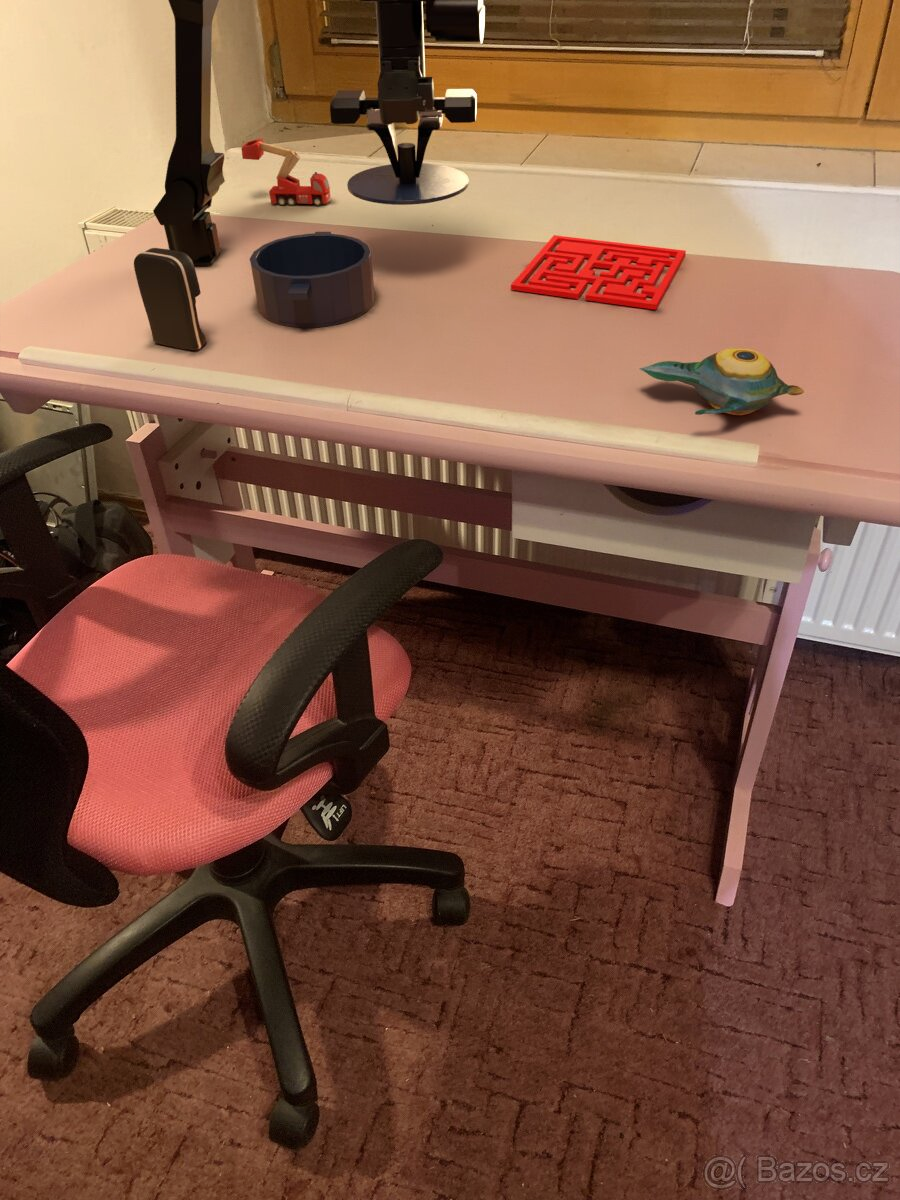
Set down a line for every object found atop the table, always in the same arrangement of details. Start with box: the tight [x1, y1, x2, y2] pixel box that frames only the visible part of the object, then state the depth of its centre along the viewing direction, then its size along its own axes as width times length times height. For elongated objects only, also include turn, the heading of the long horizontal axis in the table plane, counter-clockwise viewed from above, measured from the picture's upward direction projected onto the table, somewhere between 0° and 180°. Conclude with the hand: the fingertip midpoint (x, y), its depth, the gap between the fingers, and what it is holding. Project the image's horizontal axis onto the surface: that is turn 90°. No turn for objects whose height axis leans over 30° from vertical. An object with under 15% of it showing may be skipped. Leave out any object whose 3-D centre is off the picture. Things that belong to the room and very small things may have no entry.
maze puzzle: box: [510, 234, 687, 310], centre depth 124 cm, size 20×20×1 cm
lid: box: [346, 142, 470, 206], centre depth 119 cm, size 17×17×6 cm
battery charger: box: [133, 247, 207, 351], centre depth 107 cm, size 7×4×11 cm, turn 66°
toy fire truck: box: [240, 138, 331, 207], centre depth 147 cm, size 3×14×10 cm, turn 84°
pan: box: [249, 231, 376, 329], centre depth 117 cm, size 16×21×6 cm
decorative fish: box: [638, 347, 805, 416], centre depth 95 cm, size 13×12×6 cm
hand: (407, 176), depth 120 cm, fingers closed on lid, 2 cm apart
